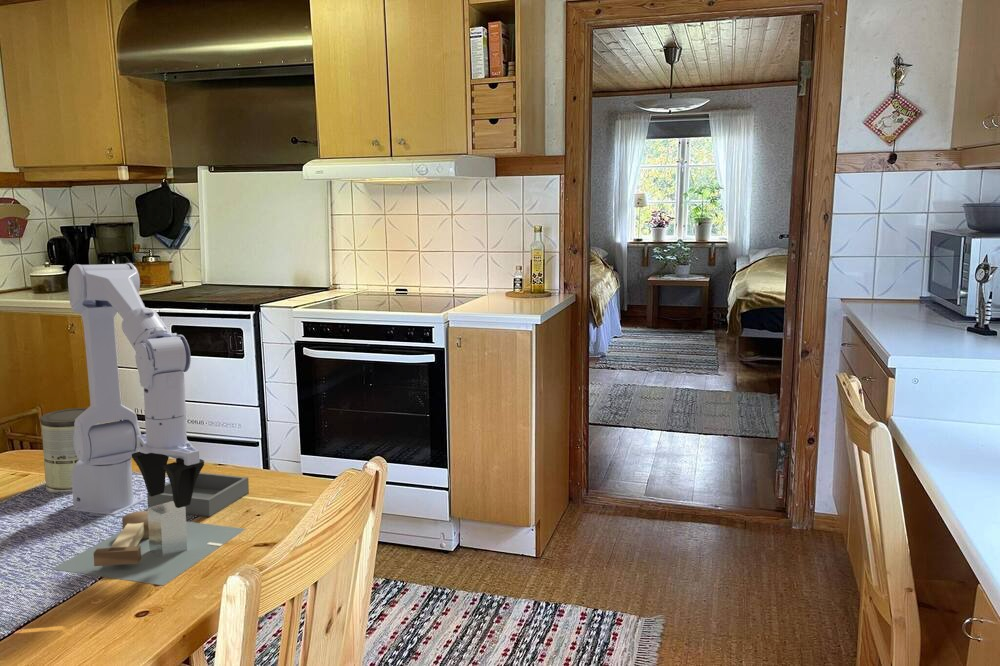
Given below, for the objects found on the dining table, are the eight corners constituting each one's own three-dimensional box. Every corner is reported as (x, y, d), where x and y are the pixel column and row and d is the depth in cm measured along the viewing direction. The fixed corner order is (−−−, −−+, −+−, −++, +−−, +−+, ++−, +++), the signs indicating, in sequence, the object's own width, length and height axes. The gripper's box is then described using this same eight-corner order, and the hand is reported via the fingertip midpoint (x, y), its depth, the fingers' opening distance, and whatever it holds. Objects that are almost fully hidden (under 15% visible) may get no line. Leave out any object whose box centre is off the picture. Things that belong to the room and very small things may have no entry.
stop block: (149, 550, 119) (147, 507, 118) (174, 542, 122) (172, 501, 121) (162, 558, 117) (160, 514, 116) (187, 549, 120) (185, 507, 119)
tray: (148, 511, 136) (147, 492, 136) (191, 488, 148) (190, 471, 147) (209, 519, 133) (209, 500, 133) (248, 495, 145) (248, 477, 145)
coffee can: (40, 482, 150) (36, 412, 148) (99, 472, 156) (95, 405, 154) (49, 497, 142) (44, 423, 140) (110, 486, 148) (106, 416, 146)
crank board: (51, 571, 113) (51, 568, 113) (148, 518, 133) (148, 516, 133) (163, 588, 108) (163, 584, 108) (245, 531, 128) (245, 528, 128)
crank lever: (124, 529, 127) (123, 511, 126) (163, 527, 128) (162, 509, 128) (94, 571, 112) (93, 552, 111) (138, 568, 113) (137, 549, 112)
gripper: (115, 412, 118) (120, 496, 120) (166, 428, 109) (170, 519, 111) (159, 404, 124) (163, 484, 126) (210, 419, 115) (213, 505, 117)
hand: (169, 500), depth 119 cm, fingers open, 7 cm apart
